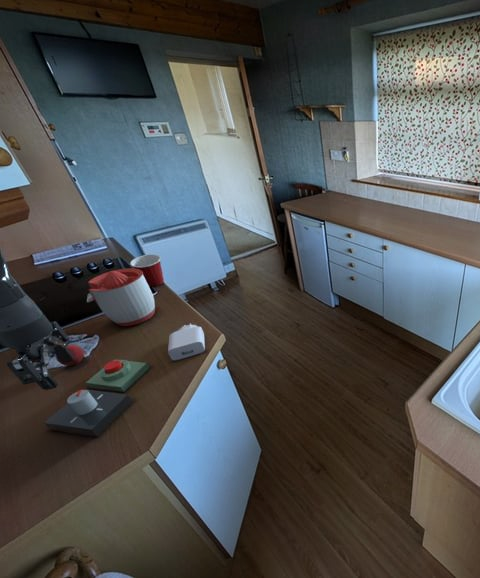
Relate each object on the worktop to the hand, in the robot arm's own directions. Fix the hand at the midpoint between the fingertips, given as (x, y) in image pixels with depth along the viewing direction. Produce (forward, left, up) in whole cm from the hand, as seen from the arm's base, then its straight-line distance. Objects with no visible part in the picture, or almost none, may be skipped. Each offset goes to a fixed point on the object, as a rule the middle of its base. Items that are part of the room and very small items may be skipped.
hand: (60, 373), depth 68 cm
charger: (+6, +28, -15) cm, 33 cm away
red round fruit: (-22, +15, -15) cm, 31 cm away
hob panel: (0, 0, -15) cm, 15 cm away
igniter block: (-4, +12, -15) cm, 20 cm away
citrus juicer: (-24, +38, -15) cm, 47 cm away
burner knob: (0, 0, -12) cm, 12 cm away
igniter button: (-4, +12, -12) cm, 17 cm away
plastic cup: (-35, +62, -15) cm, 73 cm away
